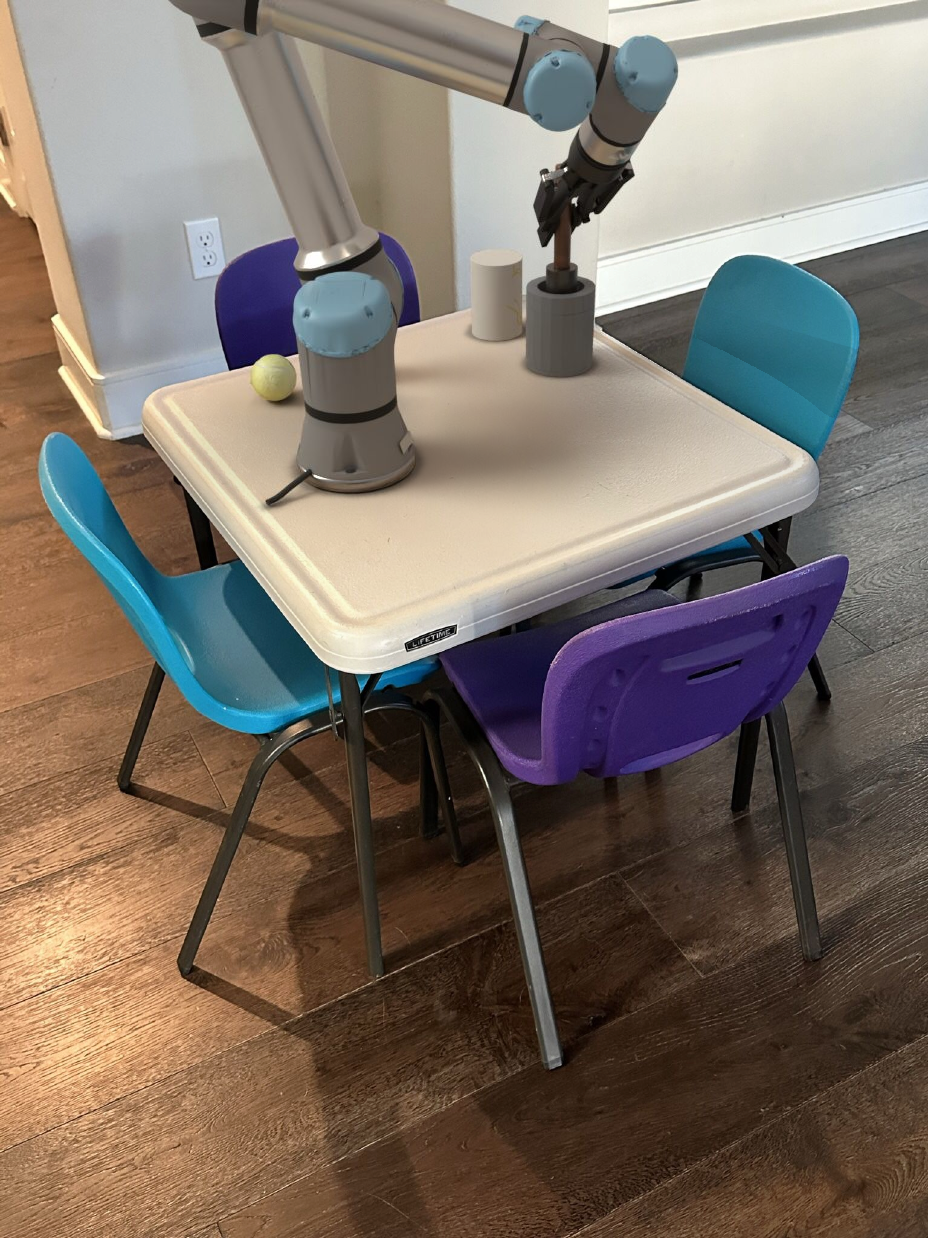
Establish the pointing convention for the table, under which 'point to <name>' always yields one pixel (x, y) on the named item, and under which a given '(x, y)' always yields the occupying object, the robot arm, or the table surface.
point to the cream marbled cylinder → (496, 294)
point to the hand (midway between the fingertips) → (551, 236)
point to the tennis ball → (273, 377)
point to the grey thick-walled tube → (559, 329)
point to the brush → (562, 257)
